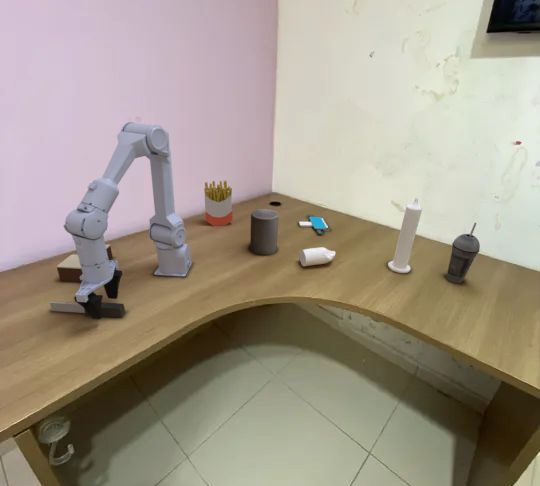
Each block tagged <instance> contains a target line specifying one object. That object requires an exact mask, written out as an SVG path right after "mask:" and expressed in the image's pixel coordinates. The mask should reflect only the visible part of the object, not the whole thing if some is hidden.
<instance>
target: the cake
mask: <svg viewBox="0 0 540 486" xmlns="http://www.w3.org/2000/svg"><path fill="white" fill-rule="evenodd" d="M55 267H56V270H57V273H58V276H59V280H60V282H67V283H68V282H69V283H70V282H71V283H82V281H83V280H80V276H81V275H82V274H83V273H82V269H81V265H80V262H79V258H78V254H77V253H75V254H74V253H72V254H70V255H69V256H68V257H66V258H65V259H63V260H62V261H61V262H60V263H59V264H57V265H56V266H55Z"/></svg>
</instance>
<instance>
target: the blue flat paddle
mask: <svg viewBox="0 0 540 486" xmlns="http://www.w3.org/2000/svg"><path fill="white" fill-rule="evenodd" d="M308 218H309V221H298V224H299V226H300V227H307V228H308V227H311V228H313V229H314V230H315V232H316V234H317V235H318V236H322V235H323V234H324V231H325V232H330V231H331V229H330V226H329V224H328V223H327V222H326V220H325V218H324V217H321V216H314V215H313V214H309V215H308Z"/></svg>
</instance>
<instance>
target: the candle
mask: <svg viewBox="0 0 540 486" xmlns="http://www.w3.org/2000/svg"><path fill="white" fill-rule="evenodd" d="M404 210H405V211H404V214H403V218H402V222H401V227H400V230H399V236H398V239H397V243H396V248H395V251H394V255H393V260H391V261H389V262H388V263H387V267H388V269H390V270H391V271H393V272H394V273H395V272H396V273H398V274H408V273H410V272H411V269H412V268H411V266H410V265H409V260H410V256H411V253H412V252H411V251H412V249H413V245H414V241H415V237H416V235H417V230H418V226H419V223H420V220H421V215H422V212H423V207H422V206H421V205H420V204H419V196H415V198H414V200H413V201H412V202H410V203H409V204H407V205H406V206H405V209H404Z"/></svg>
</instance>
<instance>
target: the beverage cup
mask: <svg viewBox="0 0 540 486" xmlns="http://www.w3.org/2000/svg"><path fill="white" fill-rule="evenodd" d="M476 226H477V222H474V224H473V226H472V229H471V231H470V233H464V234H460V235H458V236H456V238H454V240H453V242H452V243H451V245H452V246H451V254H450V258H449V263H448V268H447V273H446V279H447V280H448V281H450V282H452V283H456V284H461V283H463V282H464V280H465V277H466V276H467V274H468V272H469V271H470V268H471V266H472V264H473V262H474V260H475V258H476V257H477V255H478V253H480V248H481V244H480V240H479V239H478V237H476V236H474V235H473V233H474V231H475V229H476Z"/></svg>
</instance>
